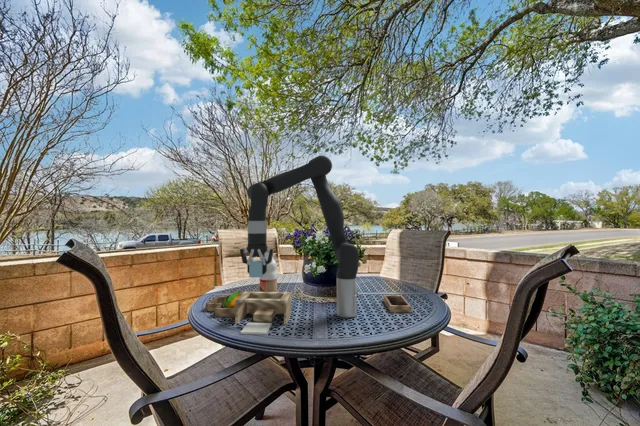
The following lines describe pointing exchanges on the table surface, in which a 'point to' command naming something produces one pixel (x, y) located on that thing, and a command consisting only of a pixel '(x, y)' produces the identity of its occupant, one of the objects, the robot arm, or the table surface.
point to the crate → (263, 305)
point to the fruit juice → (269, 277)
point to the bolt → (396, 301)
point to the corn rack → (220, 307)
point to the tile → (256, 328)
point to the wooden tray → (397, 307)
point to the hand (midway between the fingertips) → (257, 273)
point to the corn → (231, 300)
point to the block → (256, 268)
